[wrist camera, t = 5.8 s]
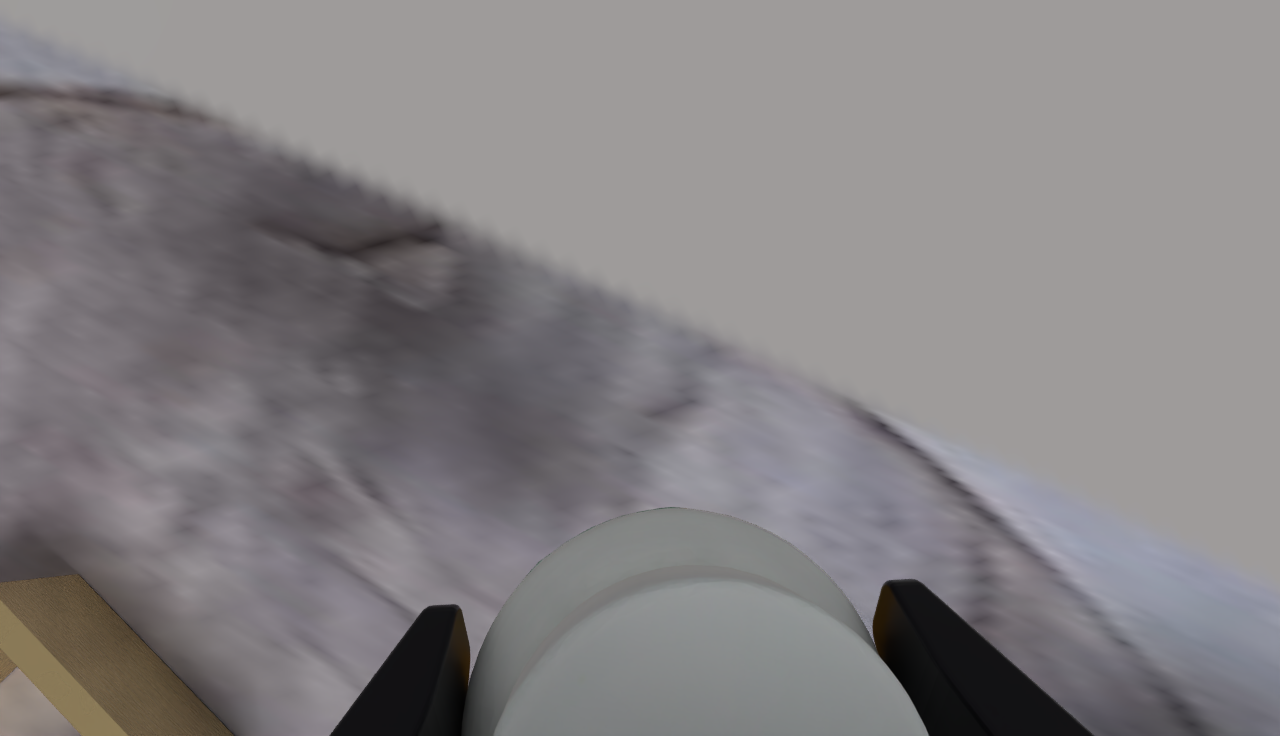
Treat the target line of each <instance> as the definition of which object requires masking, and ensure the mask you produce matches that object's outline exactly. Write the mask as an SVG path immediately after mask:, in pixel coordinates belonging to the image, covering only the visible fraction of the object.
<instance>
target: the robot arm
mask: <svg viewBox="0 0 1280 736" xmlns="http://www.w3.org/2000/svg"><path fill="white" fill-rule="evenodd" d="M873 637H874V642H875V645H876V649H877V651H878V654H879V656H880V658H881V659H882V660H883V661H884V663H885V664H886V665H887V666H888V667H889V669H890V670H891V671H892V673H893V674H894V675H895V677H896V678H897V679H898V681H899V682H900V684H901V685H902V687H903V688H904V689H905V691H906V692H907V694H908V695H909V697H910V699H911V701H912V703H913V705H914V706H915V708H916V710H917V712H918V714H919V716H920V718H921V720H922V722H923V724H924V725H925V727H926V730H927V732H928V735H929V736H1094V735H1093V734H1092V733H1091V732H1090V731H1089V730H1087V729H1086V728H1085V727H1084V726H1083V725H1082V724H1081V723H1080V722H1078V721H1077V720H1076V719H1075V718H1074V717H1073V716H1072V715H1071V714H1069V713H1068V712H1067V711H1066V710H1065V709H1064V708H1063V707H1061V706H1060V705H1059V704H1058V703H1057V702H1056V701H1055V700H1054V699H1052V698H1051V697H1050V696H1049V695H1048V694H1047V693H1046V692H1045V691H1043V690H1042V689H1041V688H1040V687H1039V686H1038V685H1037V684H1036V683H1034V682H1033V681H1032V680H1031V679H1030V678H1029V677H1028V676H1027V675H1025V674H1024V673H1023V672H1022V671H1021V670H1020V669H1019V668H1018V667H1016V666H1015V665H1014V664H1013V663H1012V662H1011V661H1010V660H1008V659H1007V658H1006V657H1005V656H1004V655H1003V654H1002V653H1001V652H999V651H998V650H997V649H996V648H995V647H994V646H993V645H992V644H990V643H989V642H988V641H987V640H986V639H985V638H984V637H983V636H981V635H980V634H979V633H978V632H977V631H976V630H975V629H974V628H972V627H971V626H970V625H969V624H968V623H967V622H966V621H964V620H963V619H962V618H961V617H960V616H959V615H958V614H957V613H955V612H954V611H953V610H952V609H951V608H950V607H949V606H948V605H946V604H945V603H944V602H943V601H942V600H941V599H940V598H939V597H937V596H936V595H935V594H934V593H933V592H932V591H931V590H930V589H928V588H927V587H926V586H925V585H924V584H923V583H921V582H919V581H918V580H915V579H901V580H889V581H886V582H885V583H884V584H883V586H882V589H881V592H880V596H879V600H878V604H877V607H876V611H875V615H874V619H873ZM469 670H470V645H469V640H468V636H467V631H466V627H465V623H464V618H463V614H462V610H461V608H460V607H459V606H458V605H455V604H451V605H433V606H428V607H427V608H425V609H424V610H423V611H422V612H421V613H420V615H419V616H418V617H417V619H416V620H415V621H414V623H413V624H412V626H411V627H410V628H409V630H408V631H407V632H406V634H405V635H404V636H403V638H402V639H401V640H400V642H399V643H398V644H397V646H396V647H395V648H394V650H393V651H392V652H391V654H390V655H389V656H388V658H387V659H386V660H385V662H384V663H383V664H382V666H381V667H380V669H379V670H378V671H377V673H376V674H375V675H374V677H373V678H372V679H371V681H370V682H369V683H368V685H367V686H366V687H365V689H364V690H363V691H362V693H361V694H360V695H359V697H358V698H357V699H356V701H355V702H354V703H353V705H352V706H351V708H350V709H349V710H348V712H347V713H346V714H345V716H344V717H343V718H342V720H341V721H340V722H339V724H338V725H337V726H336V728H335V729H334V730H333V732H332V733H331V734H330V736H461V729H462V719H463V711H464V705H465V700H466V694H467V690H468V681H469Z"/></svg>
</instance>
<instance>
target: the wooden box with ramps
mask: <svg viewBox="0 0 1280 736" xmlns="http://www.w3.org/2000/svg"><path fill="white" fill-rule="evenodd" d="M16 667H18V668H19V669H20V670H21V671H22V672H23V673H24V674H25V675H26V676H27V677H28V678H29V679H30V680H31V682H32V683H33V684H34V685H35V686H36V687H37V688H38V689H39V690H40V691H41V692H42V693H43V694H44V696H45V697H46V698H47V699H48V700H49V701H50V702H51V703H52V704H53V705H54V706H55V707H56V708H57V709H58V711H59V712H60V713H61V714H62V715H63V716H64V717H65V718H66V719H67V720H68V721H69V722H70V723H71V724H72V726H73V727H74V728H75V729H76V730H77V731H78V732H79V733H80V734H81V735H82V736H234V735H233V734H232V733H231V732H230V731H229V730H228V729H227V728H226V727H225V726H224V725H223V724H222V723H221V721H220V720H219V719H218V718H217V717H216V716H215V715H214V714H213V713H212V712H211V711H210V710H209V709H208V708H207V707H206V706H205V705H204V704H203V703H202V702H201V701H200V700H199V699H198V698H197V697H196V696H195V695H194V694H193V692H192V691H191V690H190V689H189V688H188V687H187V686H186V685H185V684H184V683H183V682H182V681H181V680H180V679H179V678H178V677H177V676H176V675H175V674H174V673H173V672H172V671H171V670H170V669H169V668H168V667H167V666H166V665H165V664H164V662H163V661H162V660H161V659H160V658H159V657H158V656H157V655H156V654H155V653H154V652H153V651H152V650H151V649H150V648H149V647H148V646H147V645H146V644H145V643H144V642H143V641H142V640H141V639H140V638H139V637H138V636H137V635H136V634H135V632H134V631H133V630H132V629H131V628H130V627H129V626H128V625H127V624H126V623H125V622H124V621H123V620H122V619H121V618H120V617H119V616H118V615H117V614H116V613H115V612H114V611H113V610H112V609H111V608H110V607H109V606H108V605H107V603H106V602H105V601H104V600H103V599H102V598H101V597H100V596H99V595H98V594H97V593H96V592H95V591H94V590H93V589H92V588H91V587H90V586H89V585H88V584H87V583H86V582H85V581H84V580H83V579H82V578H81V577H80V576H79V575H78V574H76V575H66V576H57V577H48V578H39V579H30V580H20V581H11V582H2V583H0V683H1V682H2V681H3V680H4V679H5V678H6V677H7V676H8V675H9V674H10V673H11V672H12V671H13V670H14V669H15V668H16Z"/></svg>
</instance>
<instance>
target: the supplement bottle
mask: <svg viewBox="0 0 1280 736" xmlns="http://www.w3.org/2000/svg"><path fill="white" fill-rule="evenodd" d="M461 736H929V735H928V732H927V730H926V727H925V725H924V724H923V722H922V720H921V718H920V716H919V714H918V712H917V710H916V708H915V706H914V705H913V703H912V701H911V699H910V697H909V695H908V694H907V692H906V691H905V689H904V688H903V687H902V685H901V684H900V682H899V681H898V679H897V678H896V677H895V675H894V674H893V673H892V671H891V670H890V669H889V667H888V666H887V665H886V664H885V663H884V661H883V660H882V659H881V658H880V656H879V654H878V651H877V649H876V647H875V645H874V643H873V640H872V638H871V636H870V634H869V632H868V630H867V628H866V627H865V625H864V623H863V622H862V620H861V618H860V617H859V615H858V613H857V612H856V610H855V608H854V607H853V605H852V604H851V602H850V601H849V600H848V598H847V597H846V596H845V594H844V593H843V592H842V590H841V589H840V588H839V587H838V586H837V585H836V583H835V582H834V581H833V580H832V579H831V578H830V577H829V576H828V575H827V574H826V573H825V572H824V571H823V570H822V569H821V568H820V567H819V566H818V565H817V564H815V563H814V562H813V561H812V560H811V559H810V558H809V557H808V556H806V555H805V554H804V553H802V552H801V551H800V550H798V549H797V548H796V547H794V546H793V545H792V544H790V543H789V542H787V541H785V540H784V539H782V538H780V537H779V536H777V535H775V534H773V533H771V532H769V531H767V530H765V529H763V528H761V527H759V526H757V525H754V524H752V523H749V522H746V521H743V520H740V519H737V518H735V517H732V516H728V515H723V514H718V513H714V512H709V511H703V510H695V509H687V508H676V507H669V508H659V509H653V510H647V511H642V512H637V513H633V514H628V515H623V516H621V517H618V518H615V519H612V520H609V521H606V522H604V523H602V524H599V525H597V526H594V527H592V528H590V529H588V530H586V531H584V532H583V533H581V534H579V535H577V536H576V537H574V538H572V539H571V540H569V541H567V542H566V543H564V544H563V545H562V546H560V547H559V548H558V549H556V550H555V551H554V552H552V553H551V554H549V555H548V556H546V557H545V558H544V559H542V560H541V561H540V562H538V564H537V565H536V566H535V567H534V568H533V569H532V570H531V571H530V572H529V573H528V575H527V576H526V577H525V578H524V579H523V581H522V582H521V583H520V585H519V586H518V587H517V588H516V590H515V591H514V592H513V594H512V595H511V596H510V597H509V599H508V600H507V601H506V603H505V604H504V606H503V607H502V609H501V610H500V612H499V614H498V615H497V617H496V618H495V620H494V622H493V624H492V626H491V628H490V630H489V632H488V633H487V635H486V638H485V640H484V642H483V645H482V647H481V649H480V651H479V654H478V657H477V660H476V663H475V666H474V669H473V672H472V674H471V678H470V682H469V686H468V690H467V694H466V700H465V705H464V711H463V719H462V729H461Z"/></svg>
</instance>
